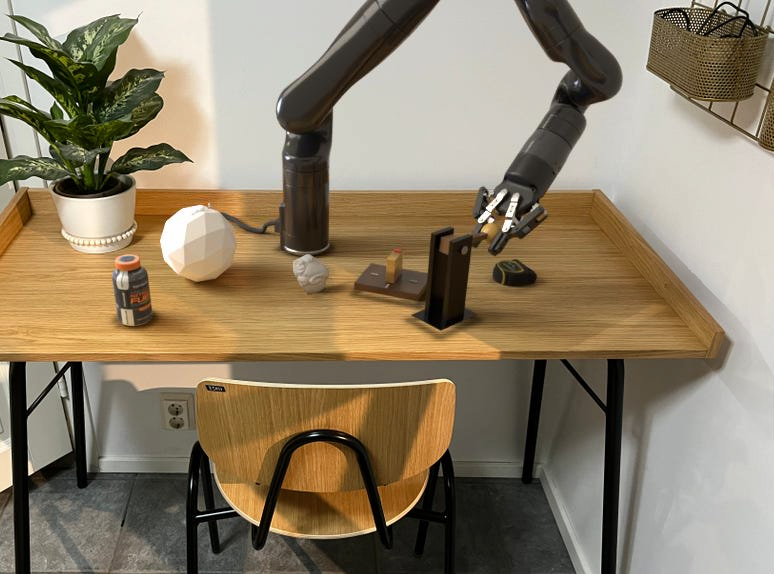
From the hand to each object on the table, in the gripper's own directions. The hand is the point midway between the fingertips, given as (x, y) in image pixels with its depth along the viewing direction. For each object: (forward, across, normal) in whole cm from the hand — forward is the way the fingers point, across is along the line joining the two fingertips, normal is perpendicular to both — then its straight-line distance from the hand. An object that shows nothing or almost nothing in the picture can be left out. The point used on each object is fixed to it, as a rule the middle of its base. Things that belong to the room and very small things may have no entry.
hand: (481, 249), depth 130 cm
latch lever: (+1, 0, -3) cm, 3 cm away
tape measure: (-1, -2, +17) cm, 17 cm away
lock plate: (+12, -14, +3) cm, 19 cm away
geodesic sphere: (+30, -41, -14) cm, 53 cm away
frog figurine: (+21, -23, -5) cm, 31 cm away
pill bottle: (+42, -34, -26) cm, 60 cm away
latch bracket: (+13, 0, +2) cm, 14 cm away
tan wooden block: (+11, -14, +1) cm, 17 cm away
